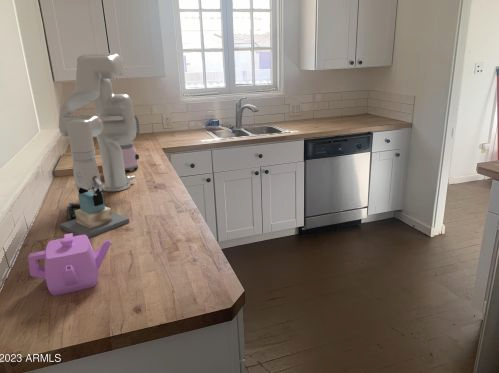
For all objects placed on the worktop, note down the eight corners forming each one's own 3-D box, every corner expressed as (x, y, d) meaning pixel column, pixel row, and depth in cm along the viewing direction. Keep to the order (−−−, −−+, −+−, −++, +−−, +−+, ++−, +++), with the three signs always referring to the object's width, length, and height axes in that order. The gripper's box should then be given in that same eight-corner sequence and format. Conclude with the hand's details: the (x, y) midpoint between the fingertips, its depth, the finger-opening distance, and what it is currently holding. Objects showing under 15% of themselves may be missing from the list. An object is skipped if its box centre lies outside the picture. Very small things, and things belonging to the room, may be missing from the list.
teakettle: (73, 260, 119) (65, 222, 115) (119, 269, 113) (113, 230, 109) (24, 291, 104) (14, 249, 100) (75, 303, 98) (66, 259, 94)
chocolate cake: (93, 210, 158) (66, 195, 151) (101, 209, 154) (74, 194, 146) (82, 232, 154) (54, 217, 147) (90, 231, 149) (61, 217, 142)
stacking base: (105, 212, 155) (103, 198, 153) (129, 222, 145) (127, 207, 143) (60, 227, 142) (57, 212, 140) (83, 239, 132) (80, 223, 130)
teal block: (96, 205, 145) (93, 190, 144) (105, 208, 142) (102, 193, 140) (80, 210, 141) (78, 194, 139) (89, 214, 137) (86, 198, 136)
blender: (111, 172, 208) (102, 111, 197) (118, 166, 219) (110, 108, 209) (140, 172, 207) (133, 111, 197) (147, 165, 219) (140, 107, 209)
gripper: (61, 154, 138) (69, 200, 143) (86, 161, 127) (94, 210, 133) (81, 150, 143) (89, 194, 149) (107, 156, 132) (114, 204, 138)
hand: (91, 202), depth 141 cm, fingers open, 9 cm apart
